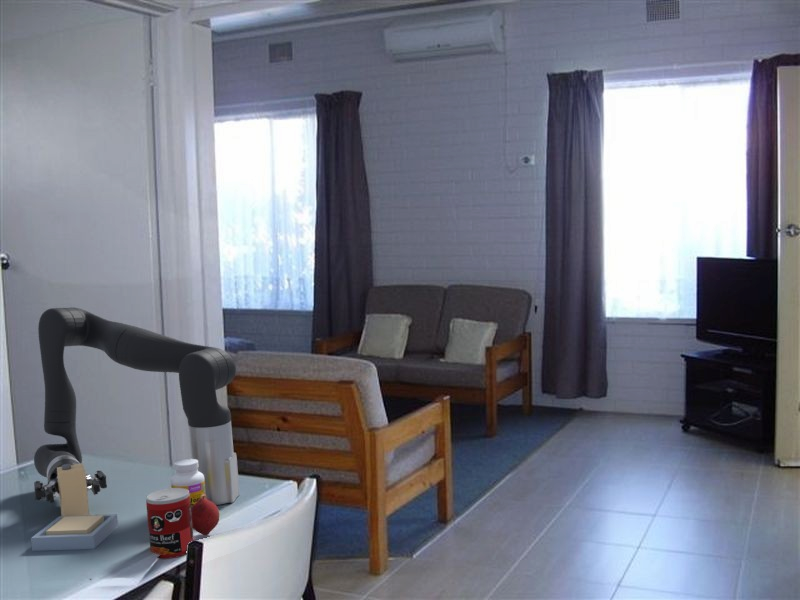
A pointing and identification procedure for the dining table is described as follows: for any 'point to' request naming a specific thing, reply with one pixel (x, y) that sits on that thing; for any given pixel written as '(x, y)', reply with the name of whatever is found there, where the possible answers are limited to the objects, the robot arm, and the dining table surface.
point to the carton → (73, 490)
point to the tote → (74, 536)
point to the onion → (204, 515)
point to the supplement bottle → (189, 479)
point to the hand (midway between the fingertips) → (74, 493)
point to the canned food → (169, 522)
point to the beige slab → (75, 525)
